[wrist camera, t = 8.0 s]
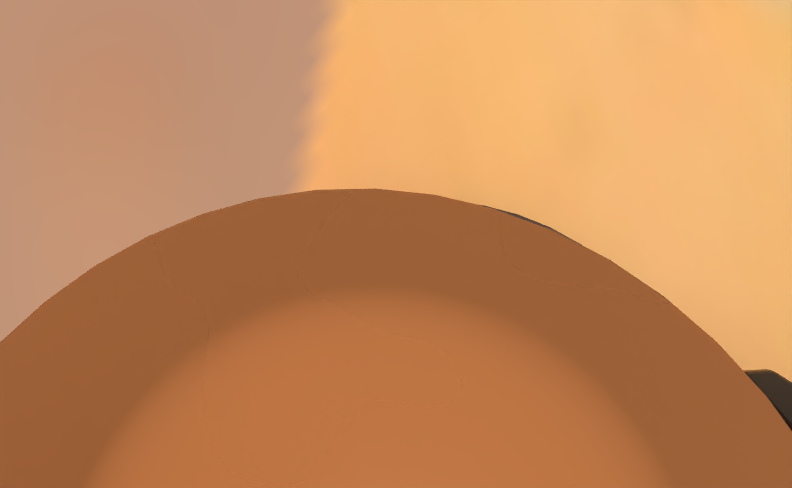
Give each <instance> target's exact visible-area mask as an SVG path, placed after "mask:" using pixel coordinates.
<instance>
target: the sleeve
mask: <svg viewBox="0 0 792 488" xmlns="http://www.w3.org/2000/svg"><path fill="white" fill-rule="evenodd" d="M0 488H792V431H791V429H790V428H789V427H788V425H787V424H786V423H785V421H784V420H783V418H782V417H781V416H780V414H779V413H778V411H777V410H776V409H775V407H774V406H773V405H772V403H771V402H770V400H769V399H768V398H767V396H766V395H765V394H764V393H763V392H762V391H761V390H760V389H759V388H758V387H757V385H756V384H755V383H754V382H753V381H752V380H751V379H750V378H749V377H748V376H747V375H746V373H745V372H744V371H743V370H742V369H741V368H740V367H739V366H738V365H737V364H736V363H735V361H734V360H733V359H732V358H731V357H730V356H729V355H728V354H727V353H726V352H725V350H724V349H723V348H722V347H721V346H720V345H719V344H718V343H717V342H716V341H715V340H714V339H713V338H711V337H710V336H709V335H708V334H707V333H706V332H704V331H703V330H702V329H701V328H700V327H699V326H697V325H696V324H695V323H694V322H693V321H692V320H691V319H689V318H688V317H687V316H686V315H685V314H684V313H682V312H681V311H680V310H679V309H678V308H677V307H676V306H674V305H673V304H672V303H671V302H670V301H669V300H667V299H666V298H665V297H664V296H662V295H661V294H659V293H658V292H656V291H655V290H653V289H652V288H651V287H649V286H648V285H646V284H645V283H643V282H642V281H640V280H639V279H637V278H636V277H634V276H633V275H631V274H630V273H628V272H627V271H625V270H624V269H622V268H621V267H619V266H618V265H617V264H615V263H614V262H612V261H611V260H609V259H607V258H605V257H603V256H601V255H599V254H597V253H596V252H594V251H592V250H590V249H588V248H586V247H584V246H582V245H580V244H578V243H576V242H574V241H572V240H570V239H568V238H566V237H564V236H562V235H560V234H558V233H557V232H555V231H553V230H550V229H548V228H545V227H542V226H539V225H537V224H534V223H531V222H529V221H526V220H523V219H520V218H518V217H515V216H512V215H509V214H507V213H504V212H501V211H499V210H496V209H493V208H489V207H484V206H480V205H476V204H471V203H467V202H463V201H459V200H454V199H450V198H446V197H441V196H437V195H431V194H421V193H411V192H402V191H392V190H382V189H341V190H313V191H307V192H300V193H293V194H286V195H280V196H273V197H266V198H260V199H255V200H252V201H248V202H244V203H241V204H237V205H234V206H230V207H226V208H223V209H219V210H216V211H212V212H208V213H204V214H202V215H199V216H196V217H194V218H192V219H190V220H187V221H184V222H182V223H179V224H177V225H175V226H172V227H170V228H167V229H165V230H163V231H160V232H158V233H155V234H153V235H150V236H148V237H146V238H144V239H143V240H141V241H139V242H137V243H135V244H133V245H132V246H130V247H128V248H126V249H124V250H123V251H121V252H119V253H117V254H115V255H114V256H112V257H110V258H108V259H106V260H105V261H103V262H101V263H99V264H97V265H96V266H94V267H93V268H92V269H90V270H89V271H87V272H86V273H85V274H83V275H82V276H80V277H79V278H78V279H76V280H75V281H73V282H72V283H71V284H69V285H68V286H66V287H65V288H64V289H62V290H61V291H59V292H58V293H57V294H56V295H54V296H52V297H51V298H50V299H48V300H47V301H46V302H44V303H43V304H42V305H41V306H40V307H39V308H38V309H37V310H36V311H34V312H33V313H32V314H31V315H30V316H29V317H28V318H27V319H26V320H25V321H23V322H22V323H21V324H20V325H19V326H18V327H17V328H16V329H15V330H13V331H12V332H11V333H10V334H9V335H8V336H7V337H6V338H5V339H4V340H2V341H1V342H0Z"/></svg>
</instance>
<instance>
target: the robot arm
mask: <svg viewBox="0 0 792 488" xmlns="http://www.w3.org/2000/svg"><path fill="white" fill-rule="evenodd" d="M744 372H745V373H746V375H747V376H748V377H749V378H750V379H751V380H752V381H753V382H754V383H755V384H756V385H757V387H758V388H759V389H760V390H761V391H762V392H763V393H764V394H765V395H766V396H767V398H768V399H769V400H770V402H771V403H772V405H773V406H774V407H775V409H776V410H777V411H778V413H779V414H780V416H781V417H782V418H783V420H784V421H785V423H786V424H787V425H788V427H789V428H790V429H791V431H792V382H790V381H789V380H787V379H786V378H784V377H782V376H781V375H779V374H778V373H776V372H774V371H771V370H766V369H763V370H744Z"/></svg>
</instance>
